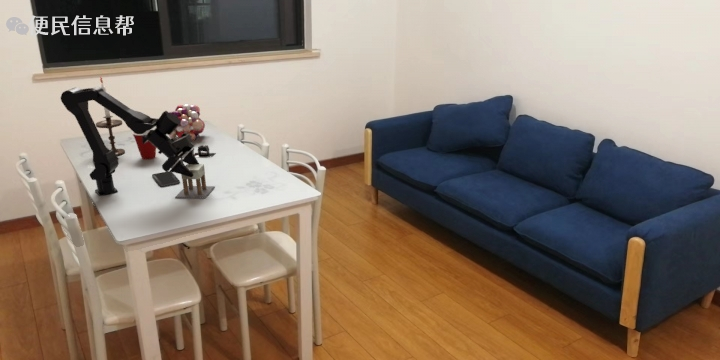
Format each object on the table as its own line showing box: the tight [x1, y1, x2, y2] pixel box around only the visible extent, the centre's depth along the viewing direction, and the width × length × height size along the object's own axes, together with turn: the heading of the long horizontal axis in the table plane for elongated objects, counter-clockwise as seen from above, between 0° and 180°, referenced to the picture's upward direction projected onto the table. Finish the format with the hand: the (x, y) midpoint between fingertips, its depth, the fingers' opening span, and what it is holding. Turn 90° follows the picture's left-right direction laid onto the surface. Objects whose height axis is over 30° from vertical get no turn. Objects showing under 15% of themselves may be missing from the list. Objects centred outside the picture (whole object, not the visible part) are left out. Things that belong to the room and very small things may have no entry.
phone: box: [151, 170, 181, 188], centre depth 222 cm, size 8×1×15 cm
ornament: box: [168, 103, 206, 142], centre depth 274 cm, size 18×19×20 cm
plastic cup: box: [131, 130, 157, 160], centre depth 247 cm, size 11×11×12 cm
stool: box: [180, 163, 207, 195], centre depth 206 cm, size 6×6×10 cm
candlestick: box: [95, 76, 126, 157], centre depth 249 cm, size 11×11×35 cm
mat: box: [175, 185, 216, 200], centre depth 208 cm, size 11×11×1 cm
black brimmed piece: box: [194, 144, 217, 158], centre depth 251 cm, size 12×7×5 cm, turn 85°
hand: (196, 172), depth 205 cm, fingers open, 8 cm apart
